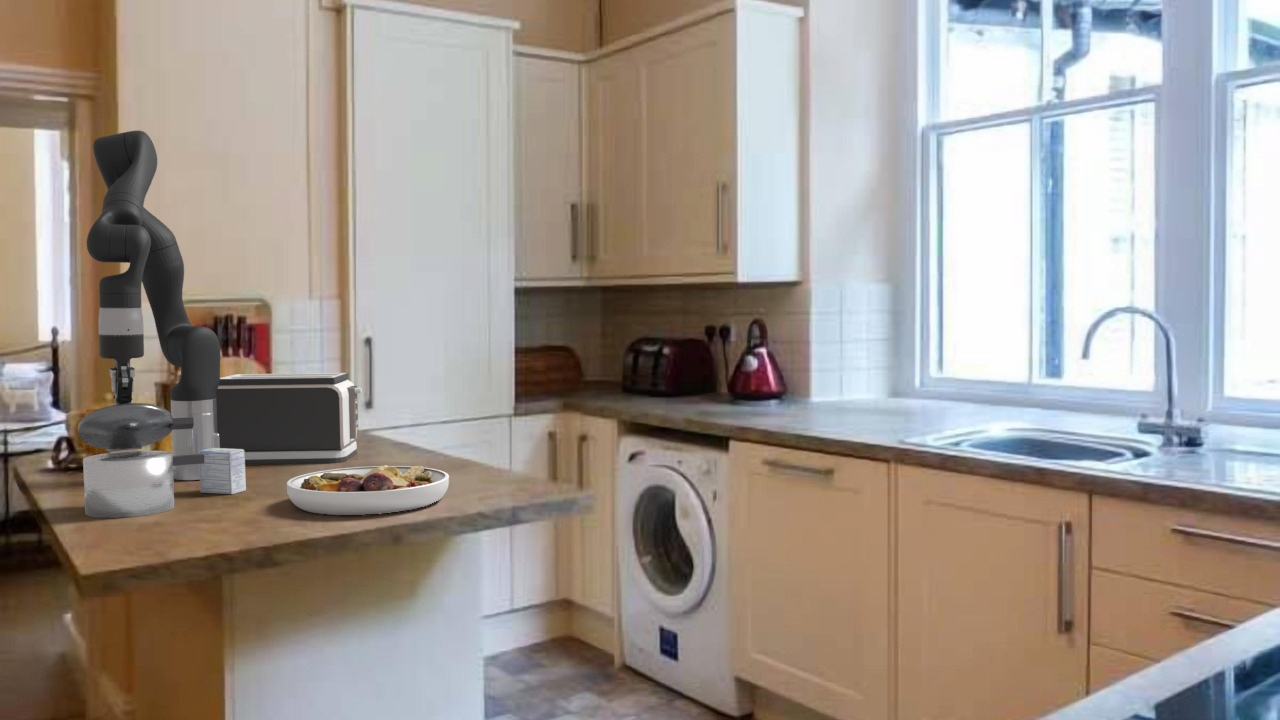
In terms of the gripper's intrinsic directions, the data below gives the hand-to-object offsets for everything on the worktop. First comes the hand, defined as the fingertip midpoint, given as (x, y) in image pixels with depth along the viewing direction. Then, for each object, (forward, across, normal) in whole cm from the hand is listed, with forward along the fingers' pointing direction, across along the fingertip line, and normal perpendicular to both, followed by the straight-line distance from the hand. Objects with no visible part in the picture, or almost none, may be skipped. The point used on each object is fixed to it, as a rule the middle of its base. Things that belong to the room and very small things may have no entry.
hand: (123, 424), depth 200 cm
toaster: (+16, +47, -41) cm, 64 cm away
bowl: (+16, -20, -41) cm, 48 cm away
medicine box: (+16, +7, -19) cm, 25 cm away
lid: (+1, -1, -2) cm, 3 cm away
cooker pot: (+16, -2, -3) cm, 16 cm away
